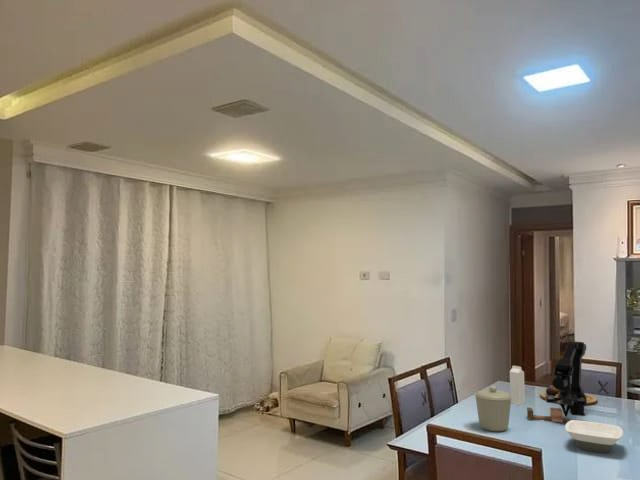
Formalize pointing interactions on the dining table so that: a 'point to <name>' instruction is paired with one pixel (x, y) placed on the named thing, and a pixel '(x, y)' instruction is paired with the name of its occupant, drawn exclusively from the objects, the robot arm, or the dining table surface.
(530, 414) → the rail
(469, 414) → the dining table surface
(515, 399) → the milk
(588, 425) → the bowl
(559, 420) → the block
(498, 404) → the canister
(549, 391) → the wooden plate with food
